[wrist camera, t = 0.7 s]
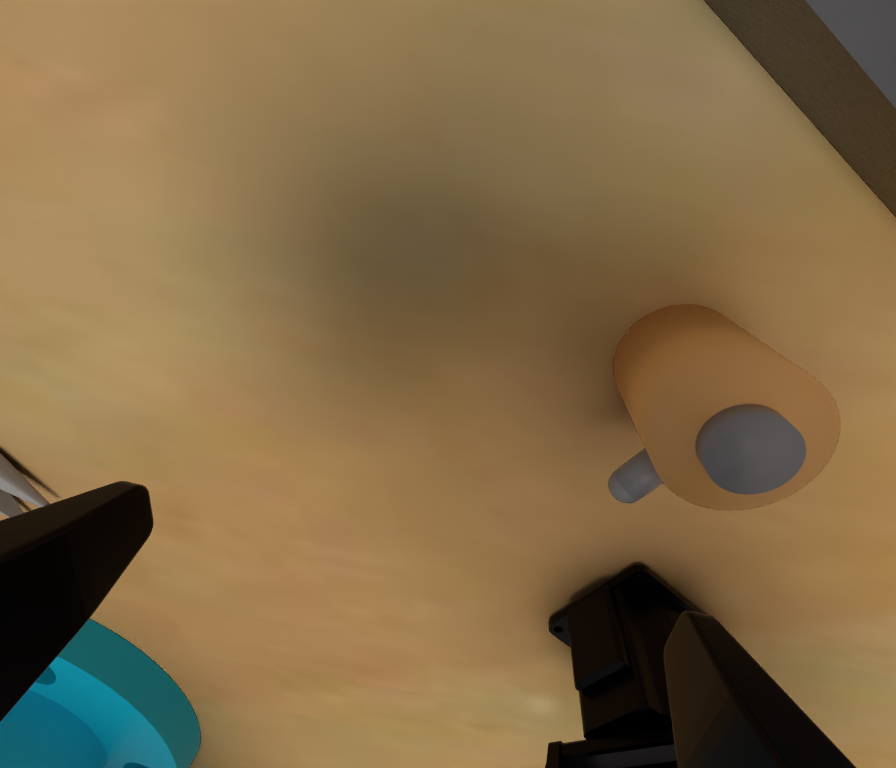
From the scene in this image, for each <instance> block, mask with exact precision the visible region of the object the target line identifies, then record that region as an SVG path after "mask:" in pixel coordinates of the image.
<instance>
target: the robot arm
mask: <svg viewBox="0 0 896 768" xmlns="http://www.w3.org/2000/svg"><path fill="white" fill-rule="evenodd" d="M152 528H153V515H152V509H151V503H150V496H149V492H148V490H147V488H146V487H145V486H143V485H140V484H135V483H131V482H126V481H119V482H115V483H112V484H109V485H106V486H103V487H100V488H97V489H94V490H91V491H88V492H85V493H82V494H79V495H76V496H73V497H70V498H67V499H64V500H61V501H58V502H55V503H52V504H49V505H46V506H43V507H40V508H37V509H34V510H31V511H28V512H25V513H22V514H19V515H16V516H13V517H10V518H7V519H4V520H1V521H0V722H1V721H2V720H3V719H4V717H5V716H6V715H7V714H8V713H9V712H10V710H11V709H12V708H13V707H14V706H15V705H16V703H17V702H18V701H19V700H20V699H21V698H22V697H23V695H24V694H25V693H26V692H27V691H28V690H29V688H30V687H31V686H32V685H33V684H34V683H35V681H36V680H37V679H38V678H39V677H40V676H41V675H42V673H43V672H44V671H45V670H46V669H47V668H48V666H49V665H50V664H51V663H52V662H53V661H54V659H55V658H56V657H57V656H58V655H59V654H60V652H61V651H62V650H63V649H64V648H65V647H66V646H67V644H68V643H69V642H70V641H71V640H72V639H73V637H74V636H75V635H76V634H77V633H78V632H79V630H80V629H81V628H82V627H83V625H84V624H85V623H86V622H87V621H88V619H89V618H90V617H91V615H92V614H93V613H94V612H95V610H96V609H97V608H98V606H99V605H100V604H101V602H102V601H103V600H104V598H105V597H106V595H107V594H108V593H109V591H110V590H111V588H112V587H113V586H114V584H115V583H116V582H117V580H118V579H119V577H120V576H121V575H122V573H123V572H124V571H125V569H126V568H127V566H128V565H129V564H130V562H131V561H132V560H133V558H134V557H135V555H136V554H137V553H138V551H139V550H140V549H141V547H142V546H143V544H144V543H145V542H146V540H147V539H148V537H149V536H150V534H151V532H152ZM638 575H642V576H638ZM548 623H549V631H550V632H551V633H552V634H553V635H554V636H555V637H557V638H558V639H560V640H561V641H562V642H564V643H565V644H566V645H568V646H569V647H570V648H571V656H572V665H573V675H574V684H575V688H576V689H577V690H578V691H579V697H580V706H581V715H582V723H583V732H584V737H585V739H587V740H581V741H574V742H568V743H562V741H557V742H551V743H549V745H548V753H547V762H546V766H545V768H856V767H855V766H854V765H853V764H852V762H851V761H850V760H849V759H848V758H847V757H846V756H845V755H844V754H843V753H842V752H841V751H840V750H839V749H838V748H837V747H836V746H835V744H834V743H833V742H832V741H831V740H830V739H829V738H828V737H827V736H826V735H825V734H824V733H823V732H822V731H821V730H820V729H819V728H818V726H817V725H816V724H815V723H814V722H813V721H812V720H811V719H810V718H809V717H808V716H807V715H806V714H805V713H804V712H803V711H802V709H801V708H800V707H799V706H798V705H797V704H796V703H795V702H794V701H793V700H792V699H791V698H790V697H789V696H788V695H787V694H786V693H785V691H784V690H783V689H782V688H781V687H780V686H779V685H778V684H777V683H776V682H775V681H774V680H773V679H772V678H771V677H770V676H769V675H768V673H767V672H766V671H765V670H764V669H763V668H762V667H761V666H760V665H759V664H758V663H757V662H756V661H755V660H754V659H753V658H752V657H751V655H750V654H749V653H748V652H747V651H746V650H745V649H744V648H743V647H742V646H741V645H740V644H739V643H738V642H737V641H736V640H735V638H734V637H733V636H732V635H731V634H730V633H729V632H728V631H727V630H726V629H725V628H724V627H723V626H722V625H721V624H720V623H719V622H718V621H717V620H716V619H715V618H714V617H712V616H710V615H706V614H704V613H703V612H702V611H701V610H699V609H698V608H697V607H696V606H694V605H693V604H692V603H691V602H689V601H688V600H687V599H686V598H684V597H683V596H682V595H681V594H680V593H678V592H677V591H676V590H675V589H673V588H672V587H671V586H670V585H668V584H667V583H666V582H665V581H663V580H662V579H661V578H660V577H658V576H657V575H656V574H655V573H654V572H652V571H651V570H650V569H649V568H647V567H646V566H644V565H635V566H632V567H631V568H629V569H627V570H626V571H624V572H623V573H621V574H620V575H618V576H616V577H615V578H613V579H612V580H610V581H609V582H607V583H605V584H604V585H602V586H601V587H599V588H598V589H596V590H594V591H593V592H591V593H590V594H588V595H587V596H585V597H583V598H582V599H580V600H579V601H577V602H576V603H574V604H572V605H571V606H569V607H568V608H566V609H565V610H563V611H561V612H560V613H558V614H557V615H555V616H554V617H552V618H551V619H550V620H549V622H548Z"/></svg>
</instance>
